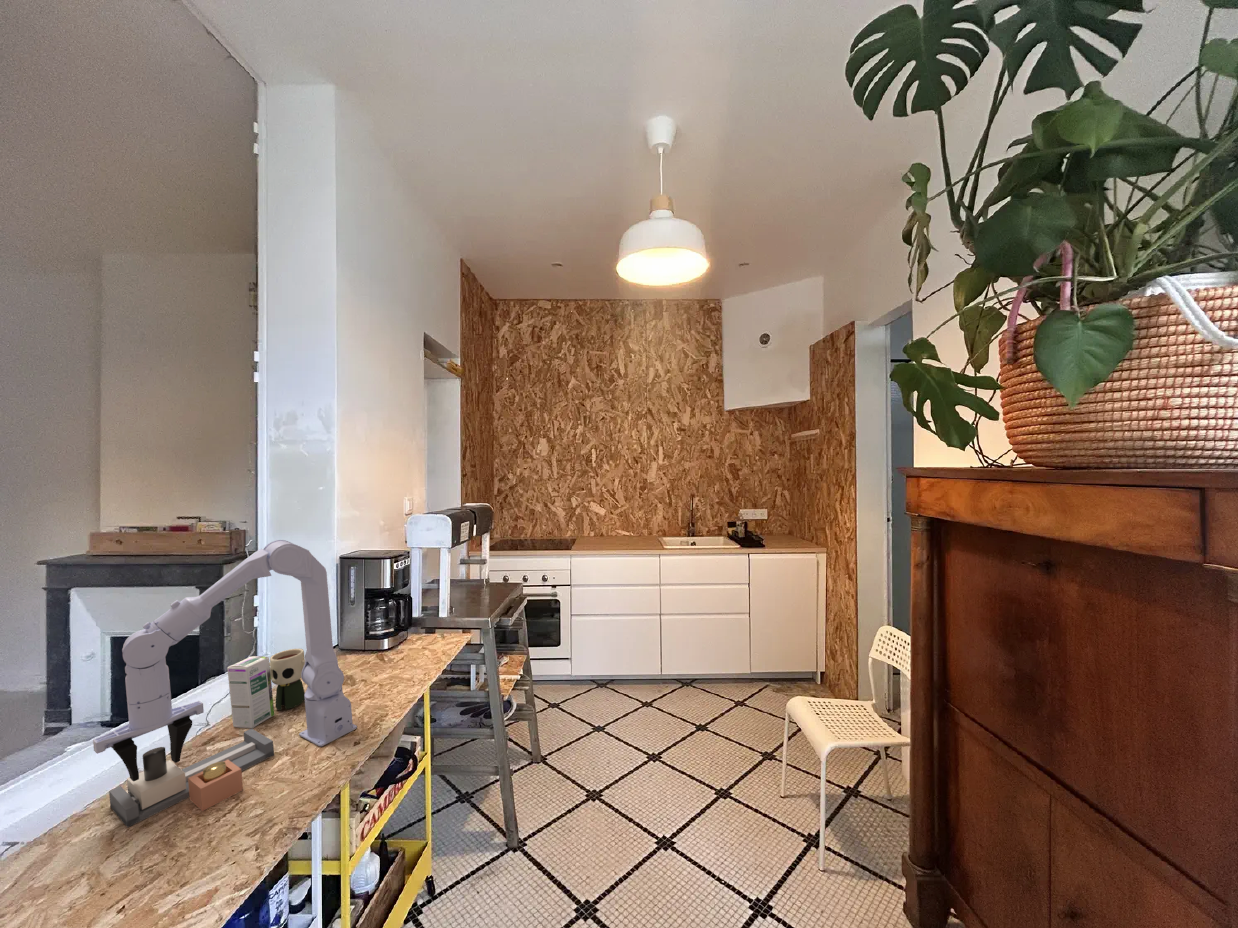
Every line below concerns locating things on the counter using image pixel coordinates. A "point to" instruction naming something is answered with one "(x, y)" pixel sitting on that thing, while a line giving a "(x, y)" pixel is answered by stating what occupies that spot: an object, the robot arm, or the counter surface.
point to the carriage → (156, 779)
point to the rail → (240, 754)
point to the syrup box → (250, 691)
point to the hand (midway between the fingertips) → (155, 769)
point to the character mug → (288, 677)
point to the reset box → (215, 787)
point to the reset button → (214, 771)
